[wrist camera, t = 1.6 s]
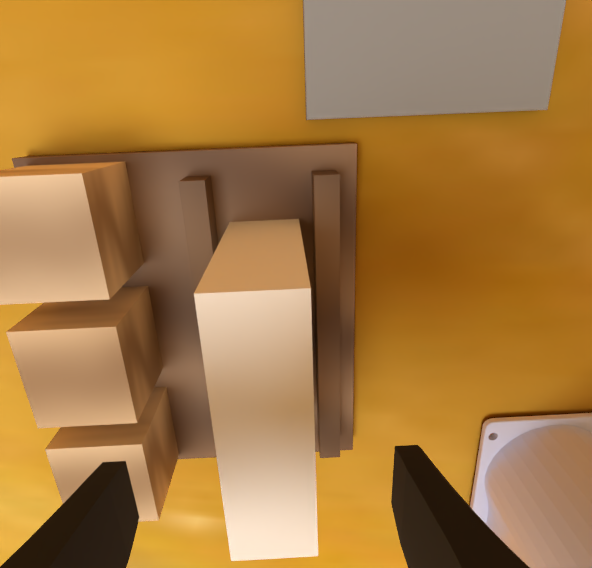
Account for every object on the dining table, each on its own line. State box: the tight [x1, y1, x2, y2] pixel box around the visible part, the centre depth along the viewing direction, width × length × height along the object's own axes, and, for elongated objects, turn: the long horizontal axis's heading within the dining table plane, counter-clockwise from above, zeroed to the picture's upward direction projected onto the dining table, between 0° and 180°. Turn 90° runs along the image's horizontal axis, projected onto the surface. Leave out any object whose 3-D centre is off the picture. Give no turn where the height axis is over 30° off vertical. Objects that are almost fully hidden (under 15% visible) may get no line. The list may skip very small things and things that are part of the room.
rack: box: [12, 143, 357, 459], centre depth 20 cm, size 16×14×2 cm
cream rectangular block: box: [194, 219, 318, 561], centre depth 16 cm, size 10×3×8 cm, turn 2°
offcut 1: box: [0, 161, 144, 305], centre depth 16 cm, size 4×4×4 cm
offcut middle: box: [6, 286, 163, 428], centre depth 18 cm, size 4×4×4 cm
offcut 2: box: [45, 387, 179, 522], centre depth 20 cm, size 4×4×4 cm
